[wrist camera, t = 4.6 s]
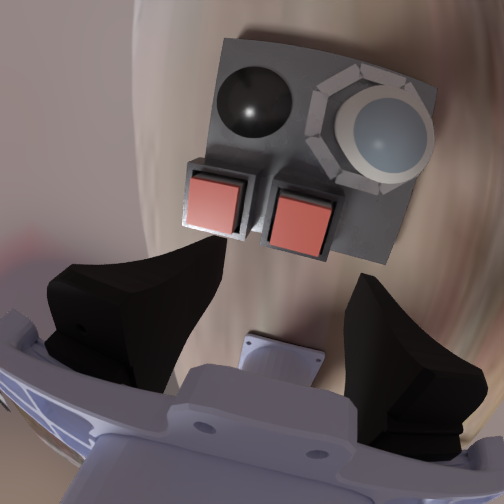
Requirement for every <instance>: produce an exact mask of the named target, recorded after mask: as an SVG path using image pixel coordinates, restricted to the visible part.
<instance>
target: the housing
mask: <svg viewBox="0 0 504 504" xmlns="http://www.w3.org/2000/svg"><path fill="white" fill-rule="evenodd" d="M379 85H388V86H394V87H398V88H400V89H403V90H405V91H407V92H408V93H410V94H412V95H413V96H414V97H416V98H417V99H418V100H419V101H420V102H421V103H422V105H423V106H424V107H425V109H426V110H427V112H428V114H429V116H430V118H431V121H432V115H433V110H434V106H435V100H436V95H437V90H438V88H436V87H434V86H432V85H429V84H427V83H424V82H422V81H419V80H417V79H414V78H412V77H409V76H407V75H404V74H401V73H398V72H395V71H393V70H390V69H387V68H384V67H381V66H377V65H374V64H371V63H368V62H364V61H361V60H357V59H353V58H350V57H346V56H342V55H338V54H334V53H329V52H325V51H320V50H315V49H310V48H305V47H299V46H294V45H287V44H281V43H273V42H266V41H257V40H246V39H233V38H224V41H223V46H222V52H221V57H220V63H219V68H218V74H217V80H216V86H215V92H214V98H213V105H212V111H211V118H210V125H209V132H208V139H207V147H206V155H205V158H201V157H199V158H197V159H194V160H192V161H189V162H188V163H187V173H186V183H185V194H184V206H183V220H182V226H186V227H190V228H194V229H198V230H202V231H206V232H210V233H214V234H218V235H222V236H226V237H230V238H234V239H238V240H242V241H245V239H246V238H247V236H248V234H249V233H250V231H251V230H252V231H256V232H261V233H262V234H261V239H260V244H259V245H262V246H265V247H269V248H273V249H277V250H281V251H285V252H289V253H293V254H297V255H301V256H305V257H309V258H312V259H316V260H320V261H324V262H326V260H327V257H328V254H329V251H330V250H331V251H335V252H339V253H343V254H346V255H350V256H354V257H358V258H361V259H365V260H369V261H372V262H376V263H380V264H383V265H386V263H387V260H388V258H389V255H390V253H391V250H392V247H393V245H394V242H395V240H396V237H397V234H398V232H399V229H400V226H401V223H402V220H403V218H404V215H405V212H406V209H407V206H408V203H409V200H410V197H411V194H412V191H413V187H414V184H415V181H416V177H417V176H419V175H420V173H419V174H418V175H416V176H415V177H413V178H412V179H410V180H407V181H405V182H401V183H396V184H386V183H380V182H376V181H374V180H371V179H369V178H367V177H365V176H364V175H362V174H361V173H360V172H359V171H357V170H356V169H355V168H354V166H353V165H352V164H351V163H350V161H349V160H348V159H347V157H346V155H345V154H344V152H343V150H342V149H341V147H340V146H339V144H338V142H337V140H336V137H335V134H334V128H333V123H334V117H335V114H336V112H337V110H338V108H339V107H340V105H341V104H342V103H343V102H344V101H345V100H347V99H349V98H350V97H352V96H354V95H355V94H357V93H359V92H360V91H362V90H364V89H367V88H369V87H373V86H379ZM432 123H433V121H432ZM423 170H424V169H423ZM203 171H204V172H210V173H215V174H220V175H225V176H230V177H235V178H240V179H244V180H248V185H247V191H246V197H245V203H244V209H243V215H242V221H241V222H240V223H239V225H238V226H237V227H236V229H235V230H234V232H233V233H232V234H231V235H230V234H226V233H222V232H218V231H214V230H210V229H206V228H202V227H198V226H194V225H190V224H186V221H187V208H188V197H189V186H190V178H191V177H193V176H195V175H197V174H199V173H201V172H203ZM283 189H289V190H293V191H297V192H301V193H305V194H309V195H313V196H317V197H321V198H324V199H328V200H331V210H332V211H331V214H330V218H329V221H328V225H327V228H326V232H325V235H324V239H323V242H322V245H321V249H320V252H319V255H318V257H316V256H313V255H309V254H305V253H301V252H297V251H293V250H289V249H285V248H281V247H277V246H273V245H269V244H270V240H271V235H272V230H273V226H274V221H275V216H276V212H277V207H278V202H279V197H280V195H281V193H282V191H283Z"/></svg>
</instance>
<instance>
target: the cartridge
mask: <svg viewBox="0 0 504 504" xmlns="http://www.w3.org/2000/svg"><path fill="white" fill-rule="evenodd" d="M333 128H334V134H335V137H336V140H337V142H338V144H339V146H340V147H341V149H342V150H343V152H344V154H345V155H346V157H347V159H348V160H349V161H350V163H351V164H352V165H353V166H354V168H355V169H356V170H357V171H359V172H360V173H361V174H362V175H364V176H365V177H367V178H369V179H371V180H374V181H376V182H380V183H386V184H396V183H401V182H405V181H407V180H410V179H412V178H413V177H415V176H416V175H418V174H419V173H420V172H421V171H422V170H423V169H424V168H425V167H426V165H427V164H428V162H429V160H430V158H431V155H432V153H433V149H434V141H435V136H434V128H433V124H432V121H431V118H430V116H429V114H428V112H427V110H426V109H425V107H424V106H423V105H422V103H421V102H420V101H419V100H418V99H417V98H416V97H414V96H413V95H412V94H410V93H408V92H407V91H405V90H403V89H400V88H398V87H394V86H388V85H379V86H373V87H369V88H367V89H364V90H362V91H360V92H359V93H357V94H355V95H354V96H352V97H350V98H349V99H347V100H345V101H344V102H343V103H342V104H341V105H340V107H339V108H338V110H337V112H336V114H335V117H334V123H333Z"/></svg>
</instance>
